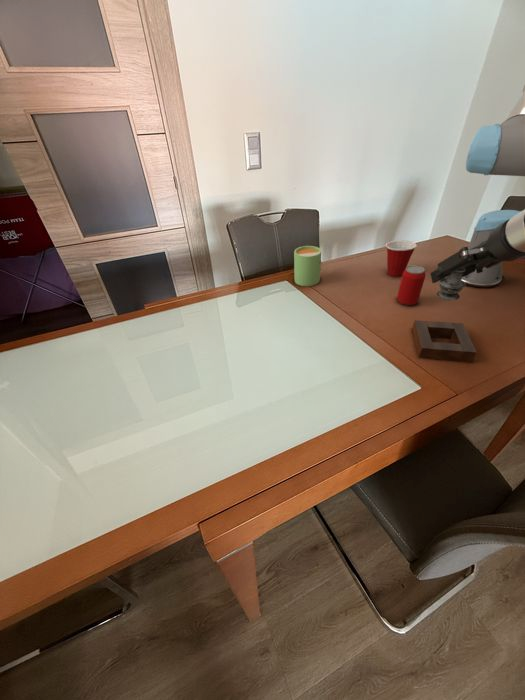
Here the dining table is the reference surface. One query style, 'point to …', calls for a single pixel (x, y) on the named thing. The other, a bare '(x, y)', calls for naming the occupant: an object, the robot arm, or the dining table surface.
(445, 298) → the grey tall piece
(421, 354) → the socket base
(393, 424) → the dining table surface
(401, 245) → the plastic cup
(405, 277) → the beverage can
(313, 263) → the mug
